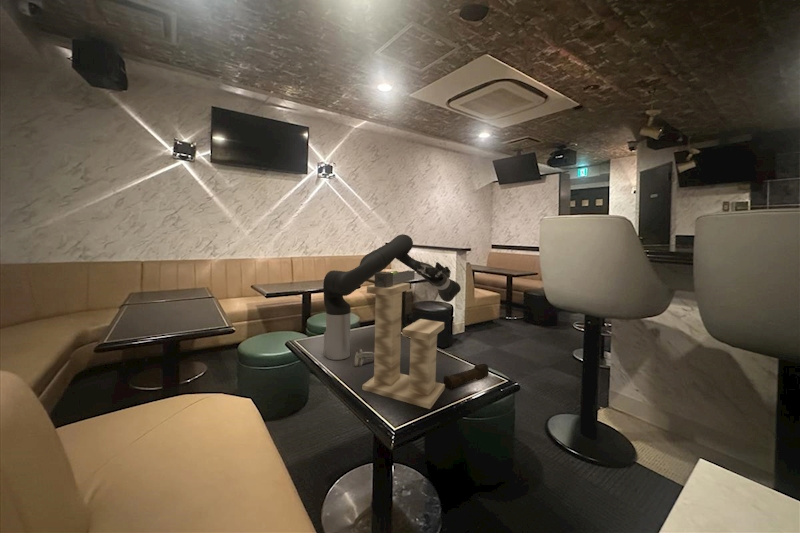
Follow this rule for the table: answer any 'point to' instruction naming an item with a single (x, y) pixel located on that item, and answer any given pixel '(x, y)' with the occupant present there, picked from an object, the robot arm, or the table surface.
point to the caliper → (363, 357)
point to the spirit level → (392, 278)
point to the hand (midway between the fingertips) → (426, 263)
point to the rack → (387, 352)
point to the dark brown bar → (466, 376)
